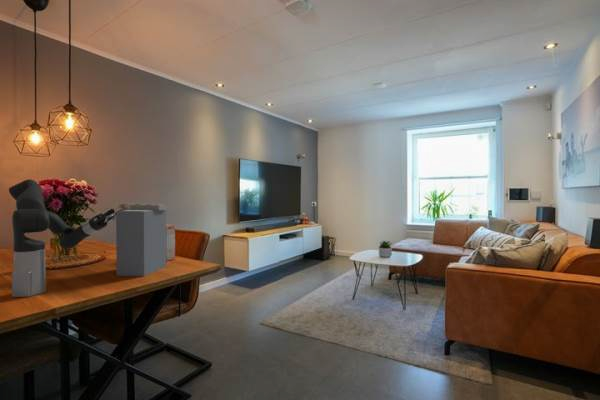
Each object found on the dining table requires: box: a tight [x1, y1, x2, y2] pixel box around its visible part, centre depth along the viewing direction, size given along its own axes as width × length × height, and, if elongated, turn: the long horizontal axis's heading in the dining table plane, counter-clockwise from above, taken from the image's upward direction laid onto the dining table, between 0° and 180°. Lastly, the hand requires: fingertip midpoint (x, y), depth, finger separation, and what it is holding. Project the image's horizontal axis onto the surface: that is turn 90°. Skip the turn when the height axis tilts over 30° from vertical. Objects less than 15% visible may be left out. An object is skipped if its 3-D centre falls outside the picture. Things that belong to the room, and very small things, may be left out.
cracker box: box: [166, 223, 176, 262], centre depth 181 cm, size 14×6×21 cm, turn 58°
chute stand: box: [115, 204, 169, 277], centre depth 153 cm, size 16×20×33 cm
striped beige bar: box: [117, 203, 163, 211], centre depth 158 cm, size 22×4×3 cm, turn 85°
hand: (119, 209), depth 159 cm, fingers open, 8 cm apart
